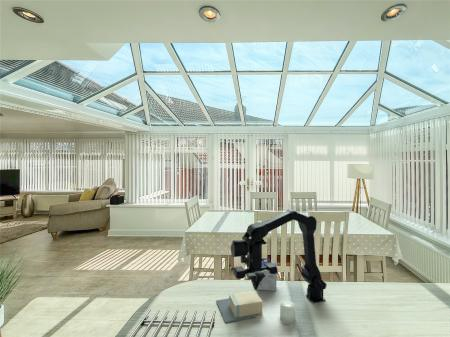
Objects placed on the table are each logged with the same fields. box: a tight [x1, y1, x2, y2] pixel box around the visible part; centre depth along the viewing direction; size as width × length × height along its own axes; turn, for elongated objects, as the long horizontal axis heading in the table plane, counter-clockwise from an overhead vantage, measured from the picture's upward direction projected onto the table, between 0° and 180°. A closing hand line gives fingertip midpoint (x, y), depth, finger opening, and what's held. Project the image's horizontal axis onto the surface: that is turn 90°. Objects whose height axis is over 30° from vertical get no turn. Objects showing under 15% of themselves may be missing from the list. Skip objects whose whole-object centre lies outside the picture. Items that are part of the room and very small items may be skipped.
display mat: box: [216, 297, 257, 324], centre depth 113 cm, size 13×16×1 cm
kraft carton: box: [228, 290, 264, 318], centre depth 112 cm, size 5×9×12 cm
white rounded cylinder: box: [279, 300, 296, 325], centre depth 106 cm, size 6×6×6 cm
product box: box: [256, 257, 277, 292], centre depth 131 cm, size 10×6×14 cm, turn 81°
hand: (255, 289), depth 113 cm, fingers closed
